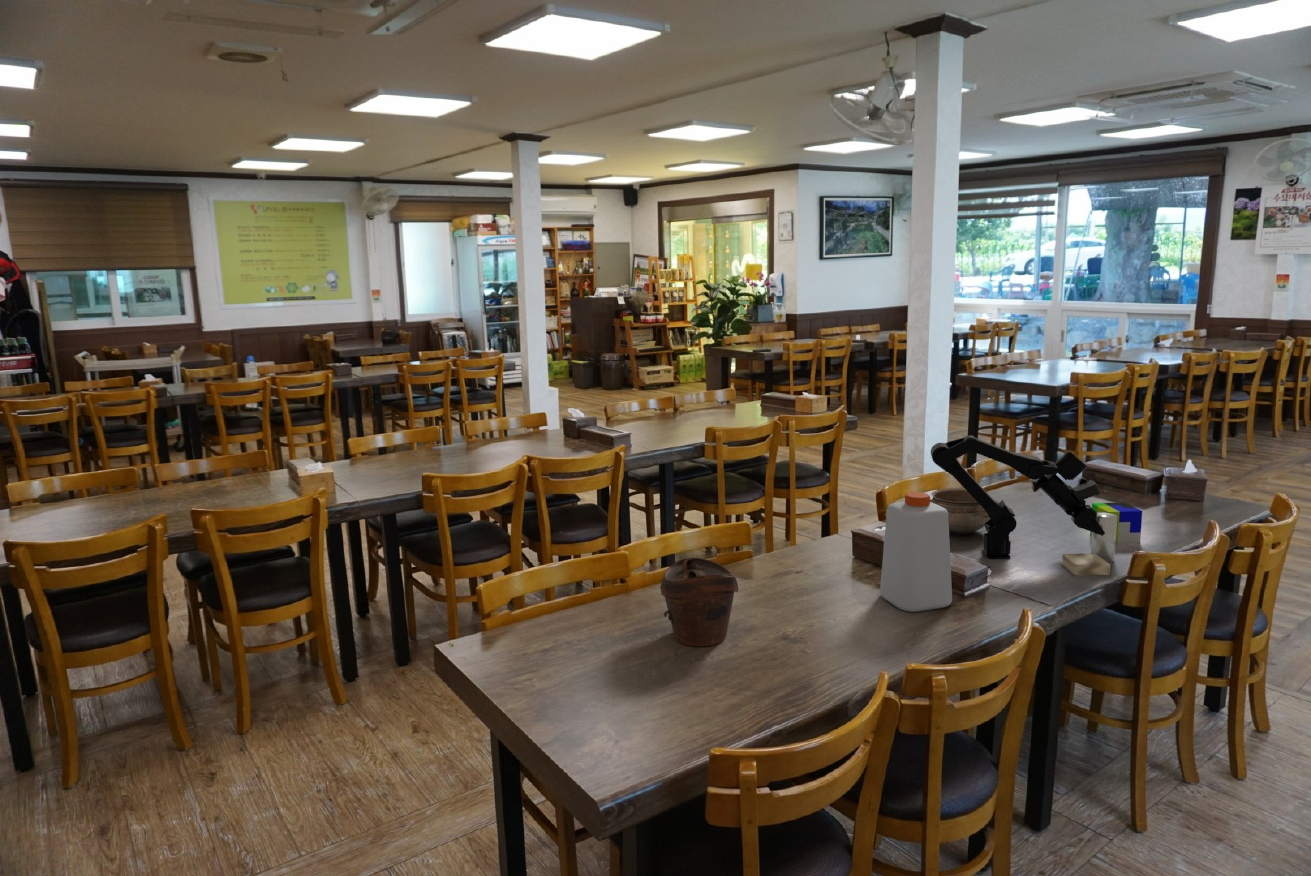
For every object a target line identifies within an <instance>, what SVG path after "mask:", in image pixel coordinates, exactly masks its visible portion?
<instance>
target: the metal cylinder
mask: <svg viewBox="0 0 1311 876" xmlns="http://www.w3.org/2000/svg"><path fill="white" fill-rule="evenodd" d="M1096 521H1097V522H1098V523H1099V525H1100V526H1101V528H1102V529H1103V531H1104V532H1105V534H1104V535H1103V536H1101V535H1099V534H1096V533H1094V532H1092V535H1091V541H1090V554H1097V555H1098V556H1100V557H1101V558H1102V559H1104V560H1105V561H1107V562H1108V563H1109V564H1113V563H1114V562H1115V556H1116V555H1115V554H1116V553H1115V552H1116V544H1115V540H1116V525H1117V516H1116V515H1114V514H1111V513H1097V516H1096Z"/></svg>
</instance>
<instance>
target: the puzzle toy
mask: <svg viewBox="0 0 1311 876" xmlns="http://www.w3.org/2000/svg"><path fill="white" fill-rule="evenodd" d="M1091 507H1092V508H1093V509H1094V510H1095V511H1096V512H1097V513H1111V514H1114V515H1116V516H1117V525H1116V540H1115V545H1117V544H1118V545H1120V544H1140V543H1141V535H1142V534H1141V532H1142V523H1143V510H1142V509H1140V508H1137V507H1135V506H1133V505H1131V504H1129V503H1128V502H1125V501H1121V502H1118V501H1117V502H1115V501H1114V502H1092V503H1091ZM1089 534H1090V535H1091V536H1092V532H1091V531H1089Z"/></svg>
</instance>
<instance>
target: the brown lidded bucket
mask: <svg viewBox="0 0 1311 876" xmlns="http://www.w3.org/2000/svg"><path fill="white" fill-rule="evenodd" d="M659 587H660V593H661V596H663V597H664V599H665V604H666V607H667V610H666V611H665V612H664V613H663V616H664V617H665V618H667V619H668V620H669V621H670V625H671V628H672V632H673V633H672V634H673V636H674V639H676V641H677V642H680V643H682V644H683V645H687V646H691V647H707V646H713V645H717V644H719V643H721V642H722V641H724V640H725V639H726V637H727V635H728V628H729V623H730V617H731V612H732V608H733V603H734V602H733V601H734V596H735V592H736V593H739V590H740V589H739V585H738V582H737V577H736V575H734V574H733V572H732V571H729V570H728V569H727V568H726V567H725V566H723V565H721V564H719V563H717V562H716V561H712V560H710V559H707V558H703V557H702V558H701V557H693V556H692V557H688V558H682V559H680V560H678V561H675V562H674V563H672V564H671V565H669V567H668V568H667V569H666V571H665V572H664V574H663V576H662V579H661V583H660V586H659Z"/></svg>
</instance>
